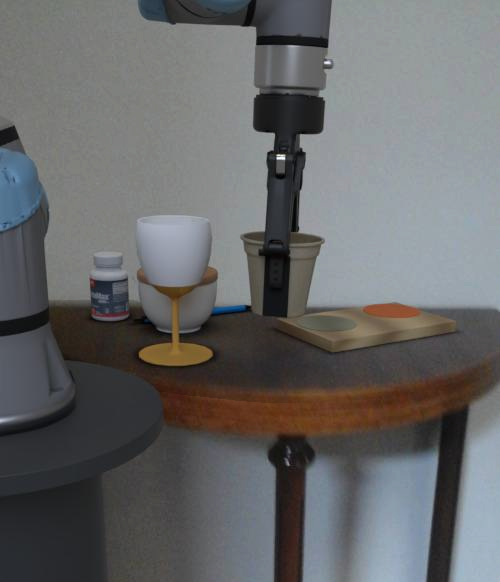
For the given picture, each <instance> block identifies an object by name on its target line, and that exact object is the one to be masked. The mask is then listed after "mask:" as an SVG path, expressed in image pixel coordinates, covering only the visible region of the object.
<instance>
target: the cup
mask: <svg viewBox="0 0 500 582" xmlns="http://www.w3.org/2000/svg"><path fill="white" fill-rule="evenodd" d="M211 226H212V225H211V221H210V219H209V218H205V217H201V216H195V215H184V214H183V215H182V214H181V215H180V214H161V215H150V216H143V217H141V218H140V217H139V218H138V219H137V220H136V227H135V228H136V229H135V244H136V246H135V247H136V254H137V259H138V261H139V265H140V268H141V269H142V271H143V273H144V275H145V277H146V279H147V281H148V283H150V284H151V285H152V286H153V287H154V288H155V289H156V290H157V291H158V292H160V293H162V294H164V295H166V296H168V297H169V298H170V299H171V301H172V333H171V342H165V343H158V344H153V345H149V346H146V347H144V348H142V349H141V350H139V352H138V358H139V359H141V361H143V362H145V363H148V364H152V365H156V366H164V367H187V366H194V365H199V364H202V363H205V362H208V361H209V360H210V359H211V358H212V357H214V353H213V351H212V350H211V348H208V347H207V346H204V345H200V344H196V343H189V342H188V343H187V342H180V333H179V309H178V300H179V298H180V297H182V296H183V295H185V294H188V293H190V292H191V291H192V290H193V289H194V288H195V287H196V286H197V285H198V284H199V283H200V282H201V281H202V279H203V277H204V275H205V273H206V271H207V268H208V266H209V263H210V260H211V255H212V248H213V247H212V246H213V235H212V227H211Z"/></svg>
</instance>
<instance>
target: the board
mask: <svg viewBox="0 0 500 582" xmlns="http://www.w3.org/2000/svg"><path fill="white" fill-rule="evenodd" d="M385 304H399V305H404V304H403V303H400V302H396V301H394V302H393V301H392V302H385ZM366 306H367V305H365V306H358V307H350V308H343V309H337V310H329V311H322V312H314V313H307V314H304V315H302V316H300V317H294V318H287V319H285V318H281V317H277V319H276V330H278V331H279V332H282V333H285V334H287V335H289V336H292V337H293V338H296V339H299V340H301V341H304V342H306V343H308V344H310V345H313V346H316V347H318V348H320V349H322V350H325V351H327V352H330V353H332V354H333V353H339V352H344V351H351V350H357V349H363V348H368V347H374V346H375V347H376V346H379V345H385V344H386V345H387V344H392V343H398V342H404V341H409V340H415V339H421V338H426V337H433V336H439V335H444V334H451V333H455V332H456V329H457V321H456V320H454V319H451V318H447V317H445V316H441V315H438V314H435V313H431V312H428V311H426V310H422V309H419V308H417V309H418V310H419V311H420V314H419V315H417V316H414V317H408V318H387V317H379V316H374V315H370V314H368V313H366V312H364V311H363V308H364V307H366Z"/></svg>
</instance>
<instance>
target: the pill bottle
mask: <svg viewBox="0 0 500 582" xmlns="http://www.w3.org/2000/svg"><path fill="white" fill-rule="evenodd" d="M92 257H93V261H92V262H93V265H94V266H95V268H93V269H92V270H91V271H90V272H89V290H90V291H89V292H90V293H89V294H90V309H91V310H90V311H91V318H92V319H94V320H96V321H101V322H119V321H123V320H126V319H128V318H129V316H130V295H129V274H128V271H126V269H125V268H122V265H123V264H124V255H123V252H119V251H98V252H94V253H93V255H92Z"/></svg>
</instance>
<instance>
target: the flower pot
mask: <svg viewBox="0 0 500 582" xmlns="http://www.w3.org/2000/svg"><path fill="white" fill-rule="evenodd" d="M239 237H240V240H241V241H243V242H242V243H243V250H244V252H245V254H246V260H247V271H248V280H249V295H250V306H251V312H252V314H255V315H257V316H261V317H262V318H263V317H264V318H273V316H262V312H263V289H264V266H265V256H259V255H258V249H263V245H264V239H265V230H258V231H257V230H256V231H249V232H244V233H241V234H240V236H239ZM273 242H280V241H273ZM325 242H326V239H325V237H323V236H320V235H317V234H312V233H304V232H291V236H290V247H289V249H290V254H289V256H291V260H290V278H289V296H288V314H287V317H280V318H285V319H287V318H294V317H300V316H302V315H305V313H306V312H307V305H308V301H309V295H310V290H311V285H312V280H313V275H314V271H315V266H316V262H317V258H318V256H319V255H320V252H321V248H322V245H323V244H325Z"/></svg>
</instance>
